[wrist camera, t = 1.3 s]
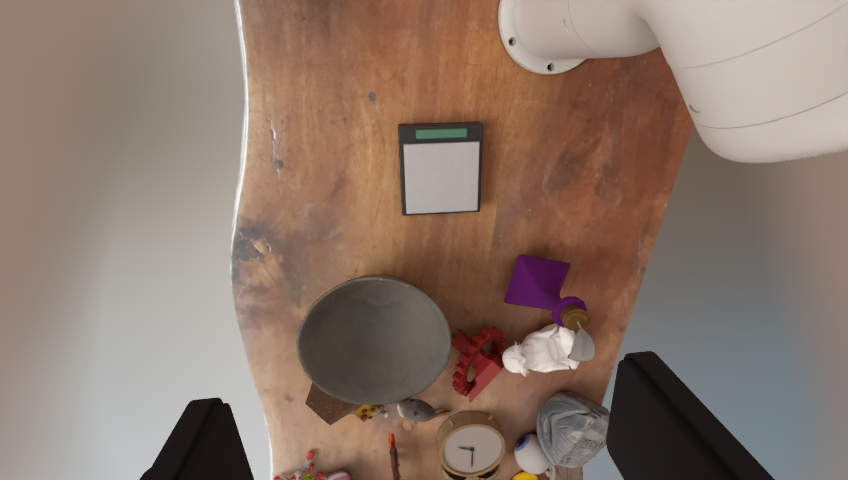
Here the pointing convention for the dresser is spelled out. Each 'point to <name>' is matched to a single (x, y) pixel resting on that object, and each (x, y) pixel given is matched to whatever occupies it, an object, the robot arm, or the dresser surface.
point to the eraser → (340, 475)
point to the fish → (416, 412)
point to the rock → (564, 472)
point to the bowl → (374, 341)
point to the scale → (440, 167)
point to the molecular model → (306, 465)
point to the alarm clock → (470, 446)
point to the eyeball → (531, 455)
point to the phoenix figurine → (394, 457)
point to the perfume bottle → (551, 299)
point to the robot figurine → (339, 407)
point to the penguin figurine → (542, 351)
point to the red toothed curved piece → (477, 360)
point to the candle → (525, 476)
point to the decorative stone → (571, 429)
